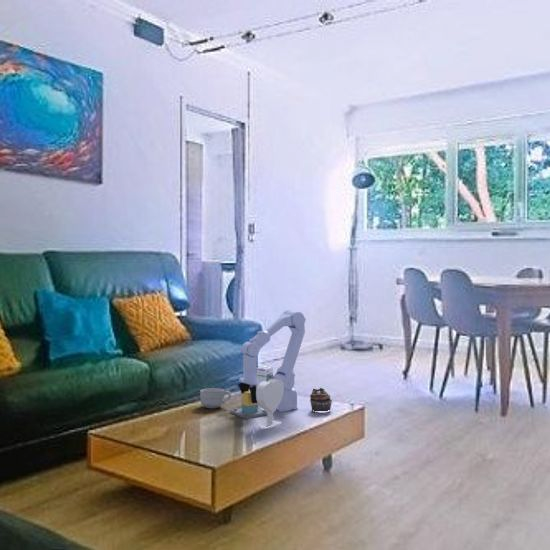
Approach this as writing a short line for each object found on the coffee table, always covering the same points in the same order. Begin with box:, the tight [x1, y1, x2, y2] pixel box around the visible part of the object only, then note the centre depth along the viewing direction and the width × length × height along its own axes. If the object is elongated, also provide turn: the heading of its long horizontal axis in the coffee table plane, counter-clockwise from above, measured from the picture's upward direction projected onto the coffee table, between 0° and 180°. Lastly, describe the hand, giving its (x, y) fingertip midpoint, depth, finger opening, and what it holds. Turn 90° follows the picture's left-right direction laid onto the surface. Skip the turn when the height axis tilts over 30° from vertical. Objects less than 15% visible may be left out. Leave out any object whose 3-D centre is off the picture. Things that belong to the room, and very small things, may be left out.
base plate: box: [230, 403, 267, 420], centre depth 267 cm, size 12×12×5 cm
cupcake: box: [309, 387, 333, 411], centre depth 272 cm, size 10×10×10 cm
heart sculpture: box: [256, 379, 284, 427], centre depth 250 cm, size 16×5×18 cm, turn 148°
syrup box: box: [257, 365, 274, 383], centre depth 298 cm, size 6×6×14 cm
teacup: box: [199, 387, 232, 409], centre depth 277 cm, size 14×11×8 cm
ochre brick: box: [241, 390, 259, 406], centre depth 266 cm, size 5×5×5 cm
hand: (249, 401), depth 266 cm, fingers open, 7 cm apart
